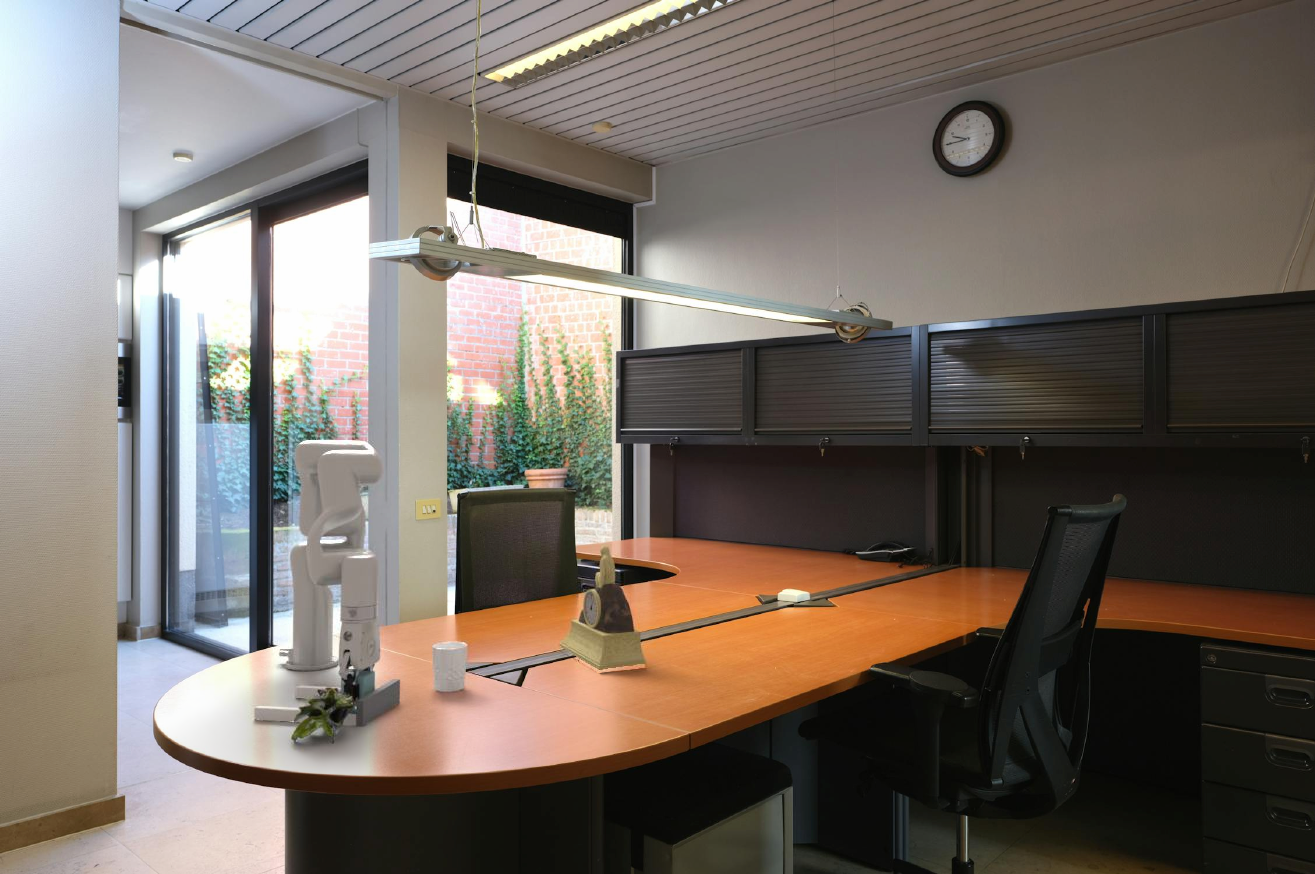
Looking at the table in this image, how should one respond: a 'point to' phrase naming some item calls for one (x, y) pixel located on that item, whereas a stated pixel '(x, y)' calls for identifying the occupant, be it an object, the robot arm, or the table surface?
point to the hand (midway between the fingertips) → (358, 698)
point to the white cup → (449, 666)
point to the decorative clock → (605, 624)
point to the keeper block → (363, 682)
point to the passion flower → (325, 713)
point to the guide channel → (367, 708)
